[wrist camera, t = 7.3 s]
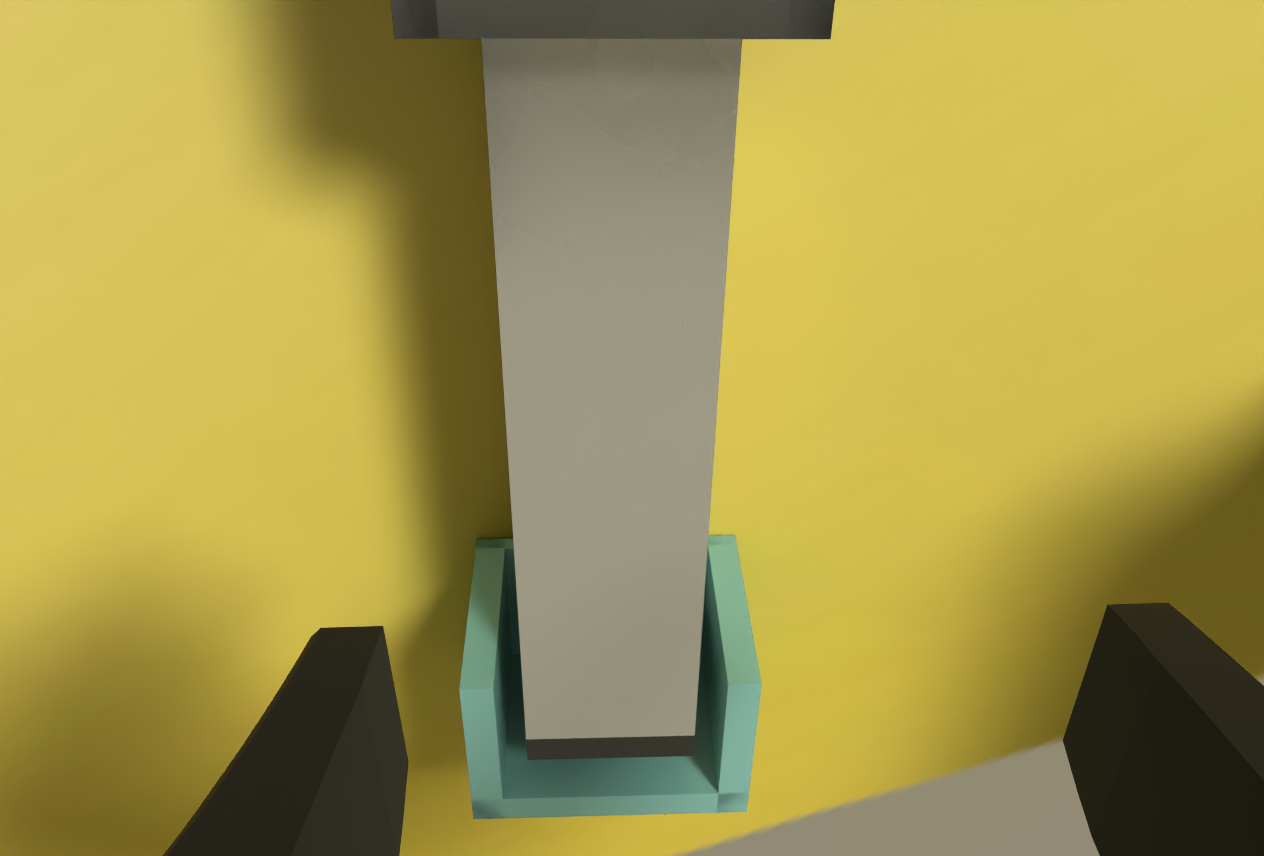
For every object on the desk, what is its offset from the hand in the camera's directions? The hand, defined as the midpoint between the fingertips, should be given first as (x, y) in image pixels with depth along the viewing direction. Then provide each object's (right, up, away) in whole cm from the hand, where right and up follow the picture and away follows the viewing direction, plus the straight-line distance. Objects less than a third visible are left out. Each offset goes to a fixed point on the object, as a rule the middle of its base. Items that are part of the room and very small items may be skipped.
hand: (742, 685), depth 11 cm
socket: (-2, -1, +13) cm, 13 cm away
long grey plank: (-2, +4, +9) cm, 10 cm away
